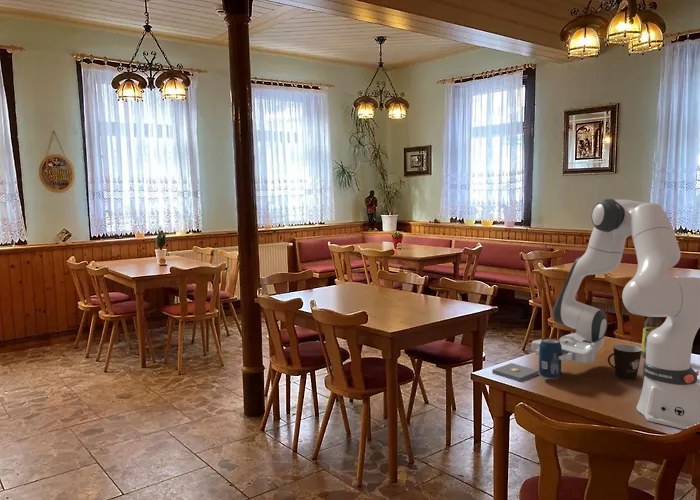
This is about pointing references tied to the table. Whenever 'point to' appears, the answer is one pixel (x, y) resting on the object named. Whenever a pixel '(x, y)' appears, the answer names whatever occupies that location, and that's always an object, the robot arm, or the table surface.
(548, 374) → the soda can
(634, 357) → the coffee mug
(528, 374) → the slate board
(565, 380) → the table surface
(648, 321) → the sauce bottle
